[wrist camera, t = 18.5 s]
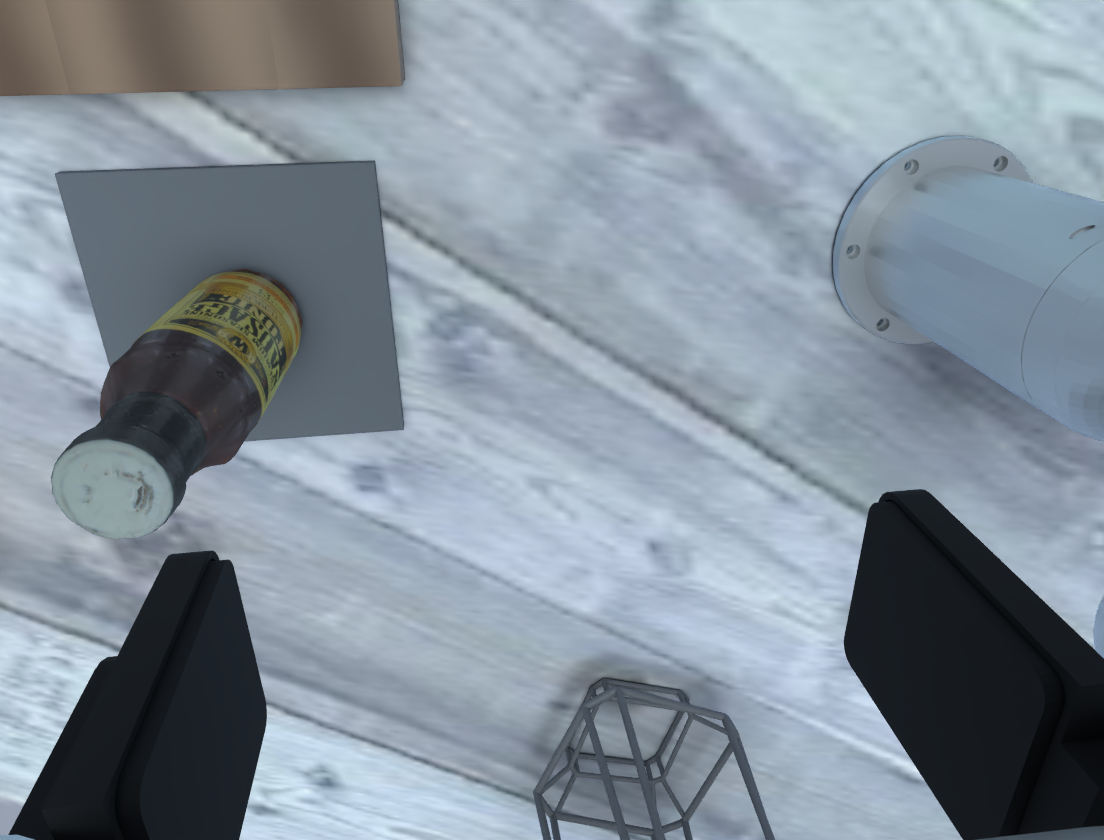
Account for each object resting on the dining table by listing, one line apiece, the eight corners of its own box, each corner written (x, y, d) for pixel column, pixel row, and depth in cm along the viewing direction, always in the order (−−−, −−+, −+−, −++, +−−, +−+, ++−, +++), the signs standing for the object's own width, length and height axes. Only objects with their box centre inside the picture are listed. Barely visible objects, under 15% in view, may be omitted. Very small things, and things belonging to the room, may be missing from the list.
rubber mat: (374, 160, 43) (373, 162, 42) (404, 425, 50) (403, 429, 50) (59, 171, 41) (54, 173, 41) (136, 444, 48) (133, 449, 48)
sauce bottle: (328, 319, 46) (263, 503, 28) (254, 388, 47) (147, 605, 29) (237, 234, 43) (101, 379, 25) (160, 310, 44) (-20, 498, 27)
